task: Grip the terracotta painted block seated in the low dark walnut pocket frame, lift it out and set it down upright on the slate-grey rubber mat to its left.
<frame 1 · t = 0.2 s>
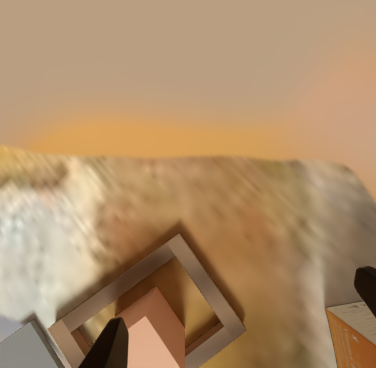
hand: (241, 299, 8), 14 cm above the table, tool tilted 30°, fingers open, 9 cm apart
small box: (360, 341, 22), on the table
block: (144, 340, 19), in the holder
holder: (149, 322, 22), on the table
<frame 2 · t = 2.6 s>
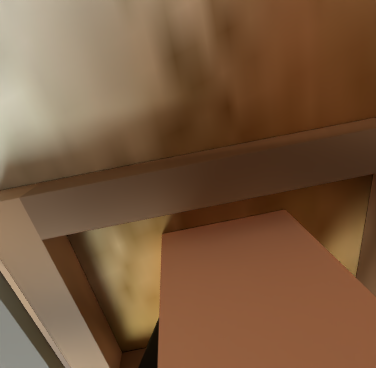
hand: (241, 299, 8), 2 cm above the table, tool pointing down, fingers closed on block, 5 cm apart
block: (255, 339, 7), in the holder, touching gripper
holder: (230, 269, 10), on the table
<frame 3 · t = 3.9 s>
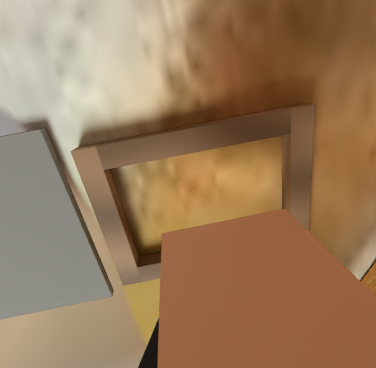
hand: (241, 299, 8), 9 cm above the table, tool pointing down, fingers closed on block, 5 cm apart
mat: (4, 238, 16), on the table
block: (255, 338, 7), point 10 cm above the table, touching gripper
holder: (204, 199, 16), on the table
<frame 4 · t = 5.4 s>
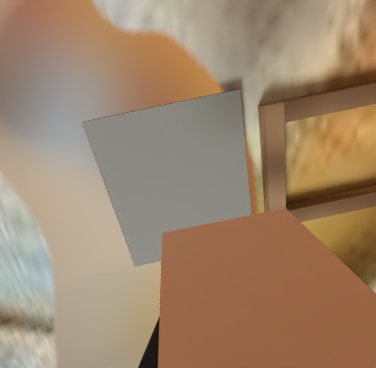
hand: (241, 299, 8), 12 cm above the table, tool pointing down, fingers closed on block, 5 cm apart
mat: (179, 187, 19), on the table
block: (256, 338, 7), point 14 cm above the table, touching gripper
holder: (343, 152, 20), on the table
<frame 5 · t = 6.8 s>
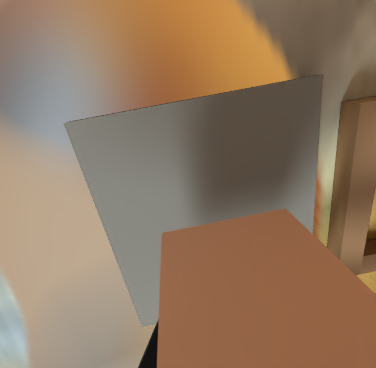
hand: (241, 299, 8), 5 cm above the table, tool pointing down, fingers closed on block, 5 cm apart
mat: (211, 221, 13), on the table
block: (255, 338, 7), point 7 cm above the table, touching gripper
when the fingers open (3 cm above the table, at t = 8.0 s): block drops 1 cm, resting on mat.
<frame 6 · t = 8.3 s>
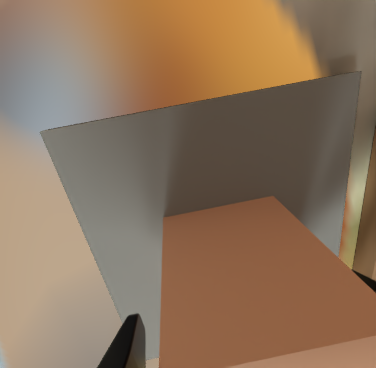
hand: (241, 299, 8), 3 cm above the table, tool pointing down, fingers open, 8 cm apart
mat: (220, 243, 11), on the table
block: (244, 305, 8), on the mat, point 4 cm above the table
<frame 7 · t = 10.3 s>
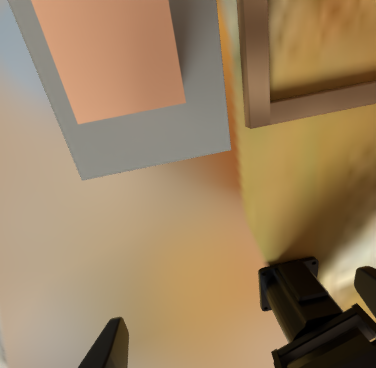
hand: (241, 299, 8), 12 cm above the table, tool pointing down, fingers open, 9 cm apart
mat: (133, 67, 15), on the table
block: (126, 59, 12), on the mat, point 4 cm above the table
holder: (343, 26, 15), on the table
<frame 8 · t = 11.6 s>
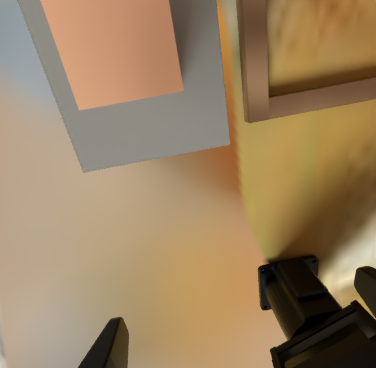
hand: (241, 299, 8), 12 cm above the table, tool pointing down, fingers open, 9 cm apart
mat: (135, 61, 15), on the table
block: (127, 51, 12), on the mat, point 4 cm above the table
holder: (341, 23, 16), on the table
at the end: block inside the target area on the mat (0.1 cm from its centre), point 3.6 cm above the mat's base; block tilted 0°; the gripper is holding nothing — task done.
